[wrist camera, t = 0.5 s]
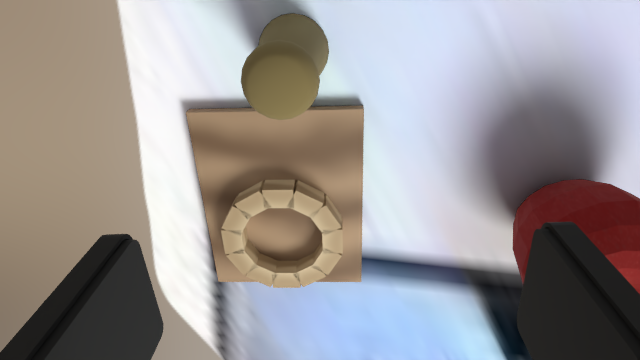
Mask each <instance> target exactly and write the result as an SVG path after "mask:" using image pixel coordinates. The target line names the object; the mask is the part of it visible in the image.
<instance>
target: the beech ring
mask: <svg viewBox="0 0 640 360" xmlns="http://www.w3.org/2000/svg"><path fill="white" fill-rule="evenodd" d="M268 208H291V209H293V210H296V211H298V212H300V213H302V214H304V215H306V216H309V217H310V218H311V219H312V220H313V222H314V223H315V224H316V226H317V227H318V228H319V230H320V231H321V232H322V241H321V243H320V244H319V246H318V247H317V249H316V250H315V252H314V253H312V254H310V255H308V256H306V257H304V258H302V259H300V260H298V261H277V260H275V259H273V258H270V257H268V256H266V255H263V254H261V253H259V252H258V250H257V249H256V248H255V247H254V246H253V244H252V243H251V242H250V241H249V240H248V237H247V230H246V224H247V223H248V221H249V219H250V218H251V217H253V216H254V215H256V214H258V213H260V212H262V211H264V210H266V209H268ZM221 233H222V239H223V244H224V250H225V254H227V257H228V258H229V260H230V261H231V262H232V263H233V264H234V265H235V266H236V267H237V268H238V270H239V271H240V272H241V273H242V274H243V275H244V274H246V277H248V278H250V279H253V280H255V281H257V282H260V283H262V284H265V285H267V286H269V287H271V285H272V284H273V288H300V286H301V285H302V286H303V287H304V286H306V285H309V284H311V283H313V282H315V281H317V280H320V279H322V278H324V277H326V274H327V275H329V273H330V272H331V270H332V269H333V268H334V266H335V265H336V263H337V262H338V261H339V259H340V258H341V256H342V253H343V231H342V216H341V214H340V213H339V212H338V210H337V209H336V207H335V206H334V205H333V203H332V202H331V200H330V199H329V197H328V196H327V195H325V196H324V192H322V191H319V190H317V189H315V188H313V187H311V186H309V185H307V184H305V183H303V182H301V181H299V180H298V181H297V183H296V185H295V180H265V182H263V181H261V182H259V183H257V184H255V185H254V186H252V187H250V188H248V189H246V190H245V191H243V192H241V193H239V194H238V196H236V198H235V200H234V202H233V204H232V206H231V208H230V210H229V212H228V214H227V216H226V218H225V221H224V223H223V225H222V229H221Z"/></svg>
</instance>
